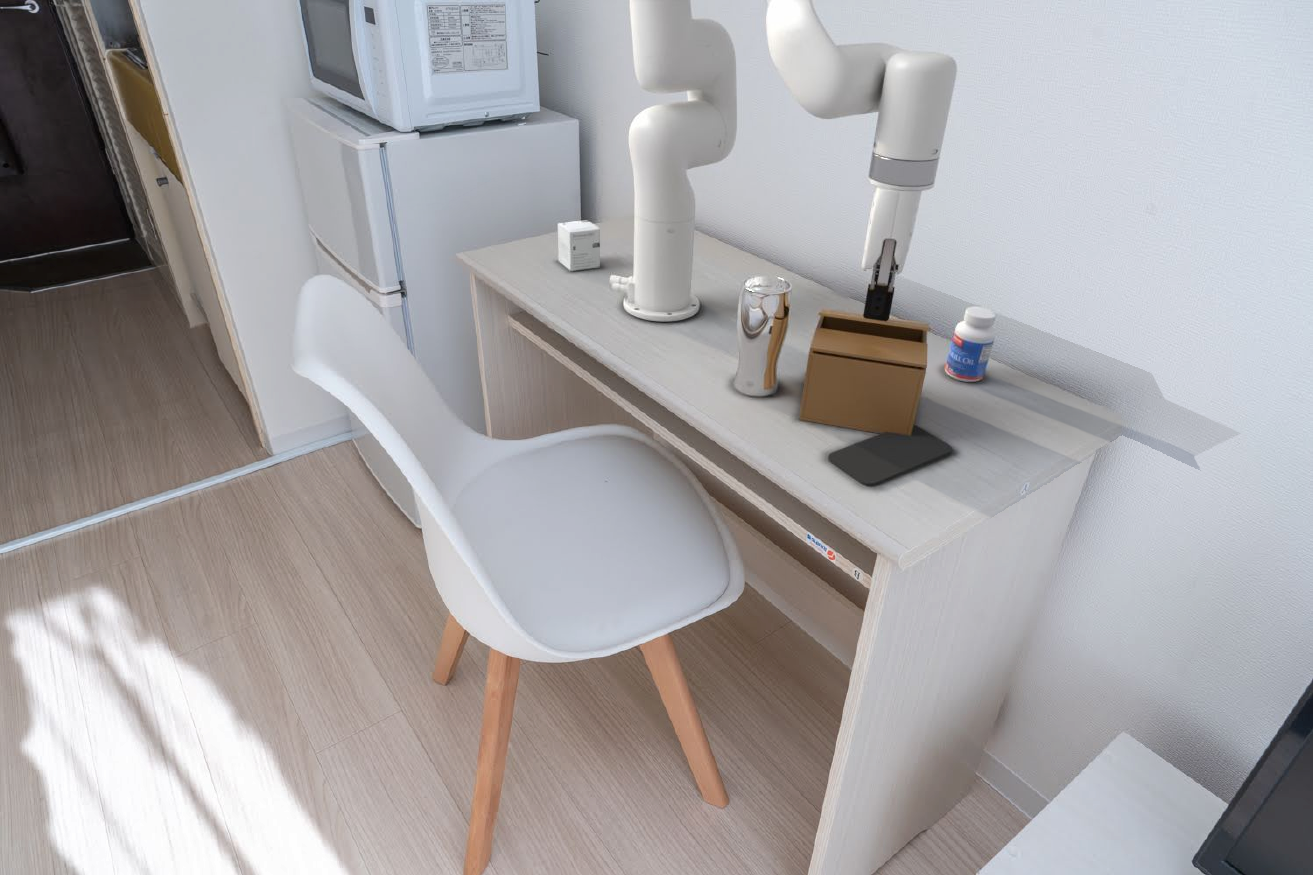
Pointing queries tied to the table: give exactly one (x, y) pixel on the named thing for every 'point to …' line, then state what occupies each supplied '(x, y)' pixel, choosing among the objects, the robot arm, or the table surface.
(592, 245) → the white cardboard box
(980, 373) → the pill bottle
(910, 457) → the phone
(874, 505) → the table surface
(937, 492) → the table surface
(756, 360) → the beer glass
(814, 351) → the carton
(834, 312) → the flap
